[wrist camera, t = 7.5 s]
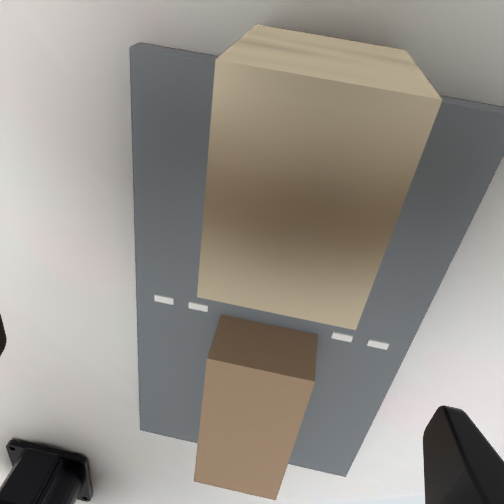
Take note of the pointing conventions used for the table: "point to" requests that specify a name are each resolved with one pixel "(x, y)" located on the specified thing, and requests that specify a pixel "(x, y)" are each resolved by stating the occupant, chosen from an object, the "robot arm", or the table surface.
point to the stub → (308, 170)
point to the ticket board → (266, 323)
